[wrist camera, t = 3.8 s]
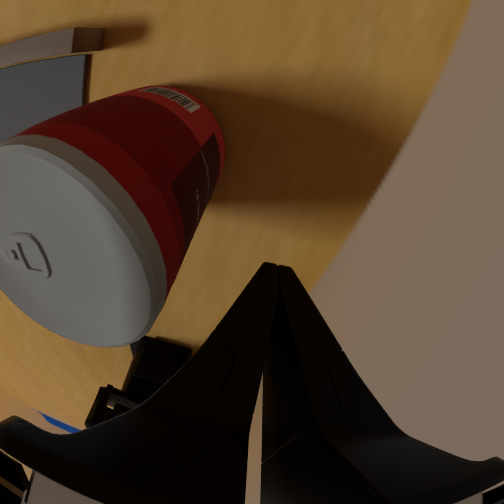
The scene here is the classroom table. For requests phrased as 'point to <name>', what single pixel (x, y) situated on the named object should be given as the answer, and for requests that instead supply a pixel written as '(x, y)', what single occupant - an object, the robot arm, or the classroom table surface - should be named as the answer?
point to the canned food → (105, 210)
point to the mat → (40, 92)
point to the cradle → (52, 45)
